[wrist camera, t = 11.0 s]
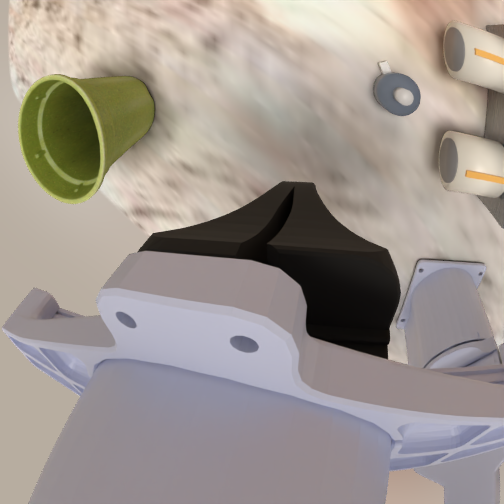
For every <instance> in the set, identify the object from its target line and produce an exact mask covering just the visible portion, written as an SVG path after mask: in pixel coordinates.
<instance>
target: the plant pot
mask: <svg viewBox="0 0 504 504" xmlns="http://www.w3.org/2000/svg"><path fill="white" fill-rule="evenodd" d="M153 118H154V102H153V99H152V98H151V96H150V94H149V92H148V90H147V88H146V85H145V84H144V83H143V82H141V81H140V80H138V79H136V78H134V77H130V76H117V77H101V78H89V79H78V78H70V77H68V76H65V75H61V74H54V75H48V76H45V77H43V78H41V79H39V80H37V81H36V82H35V83H34V84H33V85H32V86H31V87H30V88H29V90H28V91H27V93H26V95H25V97H24V99H23V102H22V105H21V108H20V112H19V120H18V128H19V130H18V133H19V141H20V147H21V151H22V155H23V157H24V160H25V162H26V165H27V167H28V169H29V171H30V173H31V174H32V176H33V177H34V179H35V180H36V182H37V183H38V184H39V185H40V187H41V188H42V189H44V191H46V193H48V194H49V195H50V196H52V197H54V198H55V199H57V200H59V201H61V202H64V203H68V204H78V203H82V202H84V201H86V200H88V199H90V198H91V197H92V196H93V195H94V194H95V193H96V192H97V191H98V189H99V188H100V186H101V184H102V182H103V179H104V176H105V174H106V173H107V171H108V170H109V168H110V166H111V165H112V164H113V163H114V162H115V161H116V160H117V159H118V158H119V157H120V156H122V155H123V154H124V153H125V152H126V151H127V150H128V149H129V148H130V147H131V146H133V145H134V144H135V143H136V142H137V141H138V140H139V139H141V138H142V137H143V136H144V135H145V134H146V133H147V132H148V130H149V129H150V127H151V125H152V122H153Z"/></svg>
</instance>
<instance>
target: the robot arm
mask: <svg viewBox="0 0 504 504" xmlns="http://www.w3.org/2000/svg"><path fill="white" fill-rule="evenodd" d="M421 268H422V269H421ZM419 269H421V270H419ZM485 271H486V266H485V264H482V263H467V262H452V261H437V260H420V261H418V263H417V265H416V269H415V272H414V275H413V278H412V281H411V284H410V287H409V290H408V293H407V296H406V299H405V302H404V305H403V307H402V310H401V313H400V315H399V318H398V321H397V323H396V327H397V328H398V329H405V337H406V346H407V356H408V365H407V364H403V363H399V362H395V361H392V360H388V348H387V345H388V344H389V342H390V330H389V328H390V325H391V323H392V320H393V317H394V315H395V312H396V310H397V307H398V304H399V300H400V294H401V291H400V283H399V278H398V275H397V271H396V269H395V266H394V263H393V261H392V259H391V256H390V254H389V252H388V250H387V249H386V248H383V247H381V246H378V245H376V244H374V243H371V242H369V241H367V240H365V239H363V238H361V237H360V236H358V235H356V234H355V233H353V232H351V231H350V230H349V229H347V228H346V227H345V226H343V225H342V224H341V223H340V222H339V221H337V220H336V219H335V218H334V217H333V215H332V214H331V213H330V212H329V210H328V209H327V208H326V206H325V205H324V203H323V202H322V200H321V198H320V197H319V195H318V193H317V190H316V186H315V184H314V183H309V182H286V181H283V182H281V183H279V184H278V185H276V186H275V187H273V188H272V189H270V190H269V191H268V192H266V193H265V194H263V195H262V196H260V197H259V198H257V199H255V200H254V201H252V202H250V203H249V204H247V205H245V206H243V207H242V208H240V209H238V210H236V211H233V212H231V213H229V214H227V215H224V216H221V217H219V218H216V219H213V220H210V221H208V222H204V223H201V224H197V225H194V226H190V227H185V228H181V229H176V230H170V231H164V232H158V233H153V234H152V235H151V236H150V237H149V239H148V240H147V241H146V242H145V243H144V244H143V246H142V247H141V248H140V249H139V251H138V252H137V253H132V254H129V255H128V256H127V257H126V259H125V260H124V261H123V262H122V263H121V265H120V266H119V267H118V268H117V269H116V271H115V272H114V273H113V275H112V276H111V277H110V278H109V279H108V281H107V282H106V283H105V285H104V286H103V287H102V288H101V290H100V292H99V294H98V296H97V298H96V303H97V307H98V309H99V312H100V315H99V316H83V315H79V314H76V313H73V312H70V311H68V310H65V309H62V308H59V305H58V303H57V301H56V300H55V298H54V297H53V296H52V295H51V294H50V293H48V292H47V291H44V290H41V289H38V288H33V289H32V290H31V292H30V293H29V294H28V295H27V296H26V298H25V299H24V300H23V301H22V302H21V304H20V305H19V306H18V307H17V309H16V310H15V311H14V312H13V314H12V315H11V316H10V317H9V319H8V320H7V321H6V323H5V324H4V325H3V327H2V330H3V331H4V333H5V334H6V335H7V336H8V337H9V339H10V340H11V341H12V342H13V343H14V344H15V346H16V347H17V348H18V349H19V350H20V351H21V352H22V353H23V354H24V356H25V357H26V358H27V359H28V360H29V361H30V362H31V363H32V364H33V365H34V366H35V367H37V368H38V369H39V370H41V371H42V372H44V373H45V374H47V375H49V376H50V377H52V378H53V379H55V380H56V381H57V382H59V383H61V384H62V385H64V386H65V387H67V388H68V389H70V390H71V391H73V392H74V393H76V394H78V395H79V396H80V398H79V400H78V402H77V404H76V405H75V407H74V409H73V411H72V413H71V414H70V416H69V418H68V420H67V422H66V424H65V426H64V428H63V430H62V432H61V434H60V436H59V438H58V440H57V441H56V444H55V446H54V448H53V450H52V452H51V454H50V456H49V458H48V460H47V462H46V464H45V466H44V469H43V471H42V473H41V475H40V477H39V480H38V482H37V484H36V487H35V489H34V491H33V493H32V496H31V498H30V501H29V503H28V504H385V501H386V494H387V486H388V477H389V471H397V470H405V469H412V468H414V471H415V472H416V473H418V474H419V475H421V476H423V477H425V478H428V479H430V480H432V481H434V482H436V483H438V484H440V485H442V486H443V487H444V503H445V504H499V503H500V472H499V467H500V466H501V464H502V463H503V462H504V343H503V344H501V345H499V349H498V346H497V344H496V342H495V339H494V336H493V333H492V330H491V326H490V323H489V320H488V317H487V315H486V312H485V309H484V306H483V304H482V301H481V298H480V296H479V293H478V291H477V288H478V286H479V284H480V282H481V280H482V278H483V275H484V273H485ZM499 351H500V352H499Z"/></svg>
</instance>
